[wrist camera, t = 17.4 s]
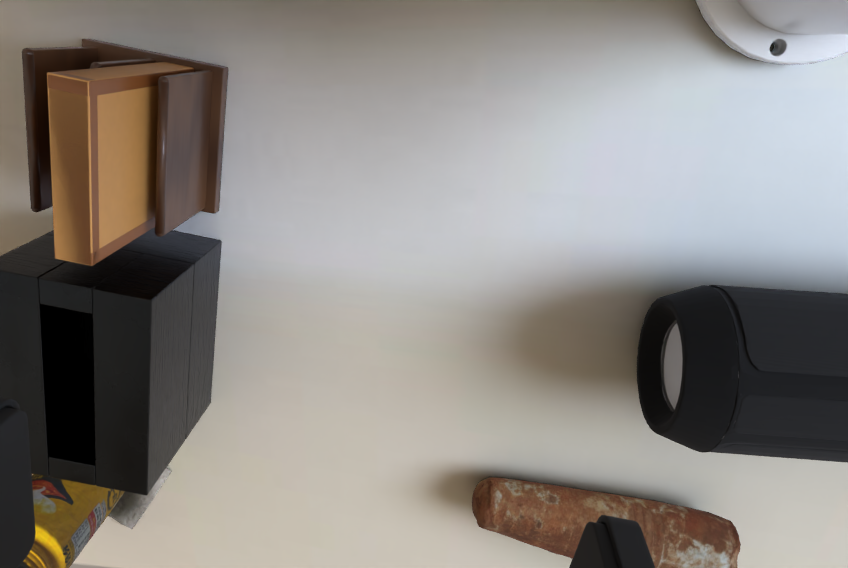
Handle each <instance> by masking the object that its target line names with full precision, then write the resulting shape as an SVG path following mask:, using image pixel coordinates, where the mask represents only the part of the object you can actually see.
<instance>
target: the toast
mask: <svg viewBox="0 0 848 568" xmlns="http://www.w3.org/2000/svg"><path fill="white" fill-rule="evenodd" d="M190 72H194V68H192V67H187V66H182V65H177V64H172V63H167V62H158V63H147V64H136V65H125V66H114V67H103V68H92V69H81V70H70V71H59V72H48V73H47V87H48V109H49V132H50V155H51V178H52V201H53V224H54V252H55V259H60V260H65V261H70V262H75V263H80V264H85V265H90V266H93V265H95V264H96V263H98V262H99V261H101V260H103V259H104V258H106V257H107V256H109V255H111V254H112V253H114V252H115V251H117V250H119V249H120V248H122V247H123V246H125V245H127V244H128V243H130V242H131V241H133V240H135V239H136V238H138V237H139V236H141V235H142V234H144V233H146V232H147V231H149V230H150V229H152V228H154V227H155V204H156V162H157V119H158V80H159V78H160V77H161V76H168V75H175V74H183V73H190Z"/></svg>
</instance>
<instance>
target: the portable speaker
mask: <svg viewBox="0 0 848 568" xmlns="http://www.w3.org/2000/svg"><path fill="white" fill-rule="evenodd" d="M637 383H638V391H639V399H640V404H641V408H642V412H643V415H644V418H645V420H646V422H647V424H648V425H649V427H650V428H651V429H652V430H653V431H654V432H655V433H657V434H659V435H661V436H663V437H666V438H668V439H670V440H672V441H675V442H677V443H679V444H682V445H684V446H686V447H688V448H691V449H693V450H696V451H699V452H717V453H731V454H744V455H757V456H770V457H783V458H797V459H810V460H823V461H836V462H848V294H839V293H824V292H809V291H794V290H779V289H764V288H749V287H734V286H719V285H709V286H699V287H696V288H692V289H689V290H685V291H682V292H678V293H675V294H671V295H667V296H664V297H660V298H659V299H657V300H656V301H655V302H654V303H653V304H652V305H651V307H650V308H649V310H648V312H647V314H646V317H645V319H644V322H643V326H642V329H641V334H640V340H639V346H638V356H637Z"/></svg>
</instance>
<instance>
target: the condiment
mask: <svg viewBox="0 0 848 568" xmlns="http://www.w3.org/2000/svg"><path fill="white" fill-rule="evenodd" d="M170 473H171V470H169V469H167V468H166V469H165V470H164V471H163V473H162V474H161V476H160V477H159V479H158V480H157V482H156V483H155V485H154V486H153V488H152V489H151V491H150V492H149V493H148V495H147V496H146V495H140V494H135V493H130V492H125V491H120V490H114V489H109V488H104V487H99V486H96V485H89V484H84V483H79V482H73V481H68V480H63V479H58V478H52V477H50V476H48V477H47V476H42V475H37V474H33V475H32V488H33V502H34V517H35V531H36V533H35V540H34V544H33V546H32V549H31V550H30V552H29V554H28V555H27V557H26V558H25V560H24V561H23V562H22V563H21V564H20V566H19V567H18V568H69V567H70V566H71V565H72V563H73V562H74V561H75V559H76V558H77V556H78V555H79V554H80V552H81V551H82V549H83V548H84V547H85V545H86V544H87V543H88V541H89V540H90V539H91V537H92V536H93V534H94V533H95V532H96V531H97V529H98V528H99V527H100V525H101V524H102V523H103V522H104V520H105V519H106V517H107V516H110V517H112V518H114V519H115V520H116V521H118V522H119V523H121V524H122V525H125V526H127V527H129V528H131V529H133V527H134V526H135V525H136V523H137V522H138V520H139V519H140V517H141V516H142V514H143V513H144V511H145V510H146V508H147V507H148V505H149V504H150V502H151V501H152V499H153V498H154V496H155V495H156V494H157V492H158V491H159V489H160V488H161V486H162V485H163V483H164V482H165V480H166V479H167V477H168V476H169V474H170Z"/></svg>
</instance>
